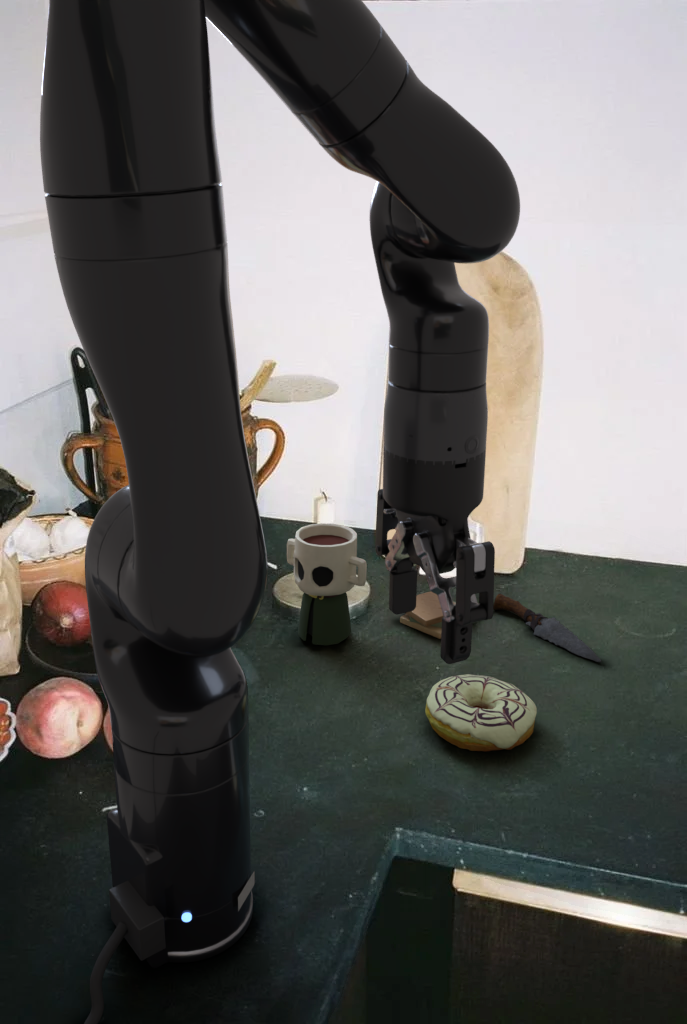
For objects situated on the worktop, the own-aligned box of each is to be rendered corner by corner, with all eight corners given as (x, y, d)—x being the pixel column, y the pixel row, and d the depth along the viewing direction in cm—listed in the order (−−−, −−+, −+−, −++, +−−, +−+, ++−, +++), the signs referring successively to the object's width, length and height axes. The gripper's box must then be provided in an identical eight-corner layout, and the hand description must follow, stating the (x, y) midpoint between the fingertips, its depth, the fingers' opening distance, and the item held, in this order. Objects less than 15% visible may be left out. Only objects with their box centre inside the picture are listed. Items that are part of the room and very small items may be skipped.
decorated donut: (524, 770, 87) (527, 736, 85) (412, 745, 90) (414, 712, 89) (540, 711, 96) (544, 679, 95) (439, 690, 99) (441, 659, 98)
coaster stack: (442, 646, 108) (443, 627, 108) (386, 622, 113) (387, 605, 113) (483, 621, 114) (485, 603, 114) (429, 600, 119) (430, 583, 119)
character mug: (269, 634, 110) (268, 532, 105) (305, 612, 115) (306, 514, 111) (345, 663, 104) (348, 556, 100) (379, 638, 110) (384, 535, 105)
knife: (487, 595, 117) (521, 578, 118) (489, 608, 118) (522, 592, 119) (566, 670, 103) (604, 651, 105) (568, 684, 105) (605, 665, 106)
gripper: (347, 421, 73) (347, 606, 79) (438, 478, 61) (430, 690, 67) (431, 410, 76) (425, 589, 82) (534, 462, 64) (518, 667, 70)
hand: (427, 634), depth 75 cm, fingers open, 8 cm apart
